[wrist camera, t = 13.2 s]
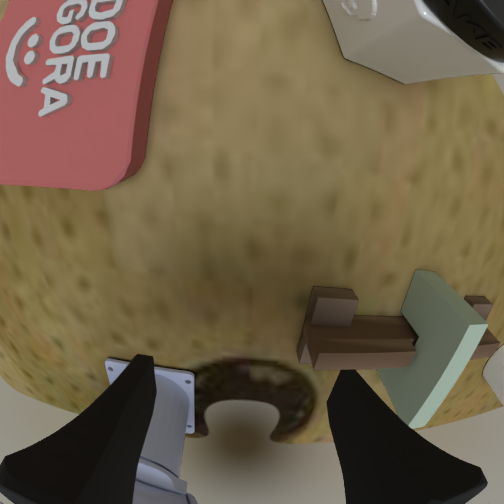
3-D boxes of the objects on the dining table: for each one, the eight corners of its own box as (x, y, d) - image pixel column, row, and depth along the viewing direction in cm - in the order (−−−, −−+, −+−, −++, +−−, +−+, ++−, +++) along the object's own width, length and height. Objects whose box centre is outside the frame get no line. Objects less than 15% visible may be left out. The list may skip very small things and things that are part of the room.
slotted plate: (393, 366, 25) (424, 426, 18) (375, 367, 25) (404, 430, 18) (434, 271, 21) (488, 324, 14) (415, 269, 21) (469, 325, 14)
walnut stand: (460, 346, 25) (481, 374, 21) (296, 351, 24) (305, 392, 19) (484, 296, 23) (511, 321, 18) (313, 286, 21) (328, 324, 17)
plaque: (-2, -36, 7) (184, -85, 8) (23, -25, 10) (192, -57, 12) (-42, 185, 14) (124, 196, 15) (-12, 173, 17) (145, 183, 19)
